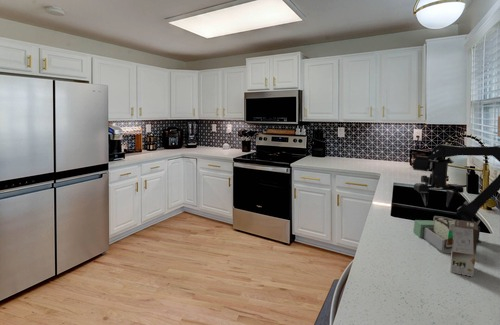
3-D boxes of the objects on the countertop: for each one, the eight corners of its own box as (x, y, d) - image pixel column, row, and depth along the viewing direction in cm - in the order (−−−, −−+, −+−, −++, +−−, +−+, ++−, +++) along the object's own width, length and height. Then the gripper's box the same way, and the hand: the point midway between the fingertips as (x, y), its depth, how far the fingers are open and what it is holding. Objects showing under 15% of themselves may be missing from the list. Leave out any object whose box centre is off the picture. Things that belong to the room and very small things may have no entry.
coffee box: (473, 278, 95) (479, 230, 93) (449, 272, 98) (454, 226, 96) (472, 266, 102) (477, 222, 100) (450, 261, 106) (454, 218, 104)
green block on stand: (441, 233, 133) (442, 220, 132) (471, 254, 112) (473, 239, 111) (413, 232, 134) (414, 220, 133) (438, 252, 113) (439, 237, 112)
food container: (465, 251, 113) (467, 226, 112) (448, 250, 114) (450, 225, 112) (446, 238, 125) (448, 215, 124) (431, 238, 126) (433, 215, 125)
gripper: (451, 170, 138) (448, 202, 140) (409, 169, 140) (407, 201, 142) (466, 174, 127) (462, 209, 129) (420, 173, 129) (418, 207, 131)
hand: (436, 206), depth 133 cm, fingers open, 9 cm apart
